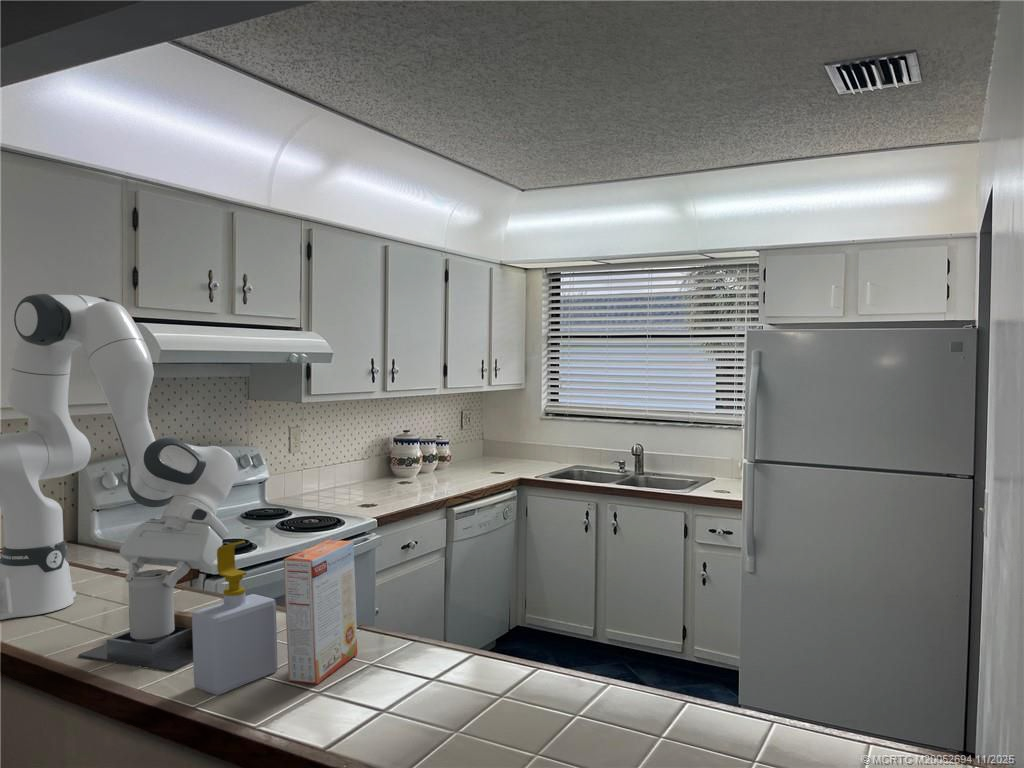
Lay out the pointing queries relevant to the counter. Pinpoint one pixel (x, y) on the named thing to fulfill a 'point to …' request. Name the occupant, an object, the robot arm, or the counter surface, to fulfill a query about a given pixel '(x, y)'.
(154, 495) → the robot arm
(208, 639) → the soap bottle
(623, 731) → the counter surface
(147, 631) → the can
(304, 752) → the counter surface
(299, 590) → the cracker box
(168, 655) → the socket
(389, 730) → the counter surface
